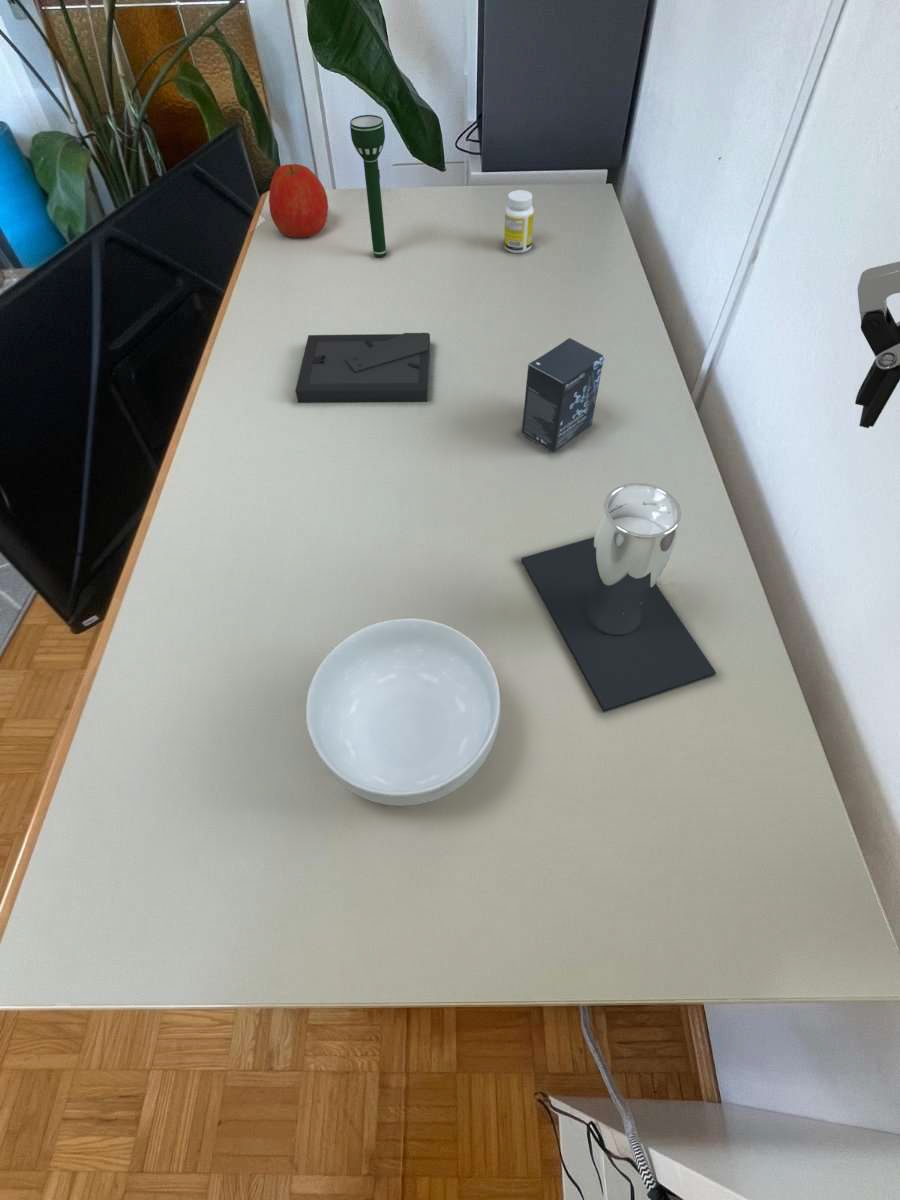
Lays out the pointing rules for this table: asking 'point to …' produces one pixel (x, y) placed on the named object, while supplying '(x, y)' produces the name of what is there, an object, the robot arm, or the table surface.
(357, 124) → the flashlight
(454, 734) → the cereal bowl
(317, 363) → the picture frame
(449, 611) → the table surface
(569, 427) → the box
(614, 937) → the table surface
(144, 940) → the table surface
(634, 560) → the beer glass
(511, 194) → the supplement bottle
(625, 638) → the placemat
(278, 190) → the apple
